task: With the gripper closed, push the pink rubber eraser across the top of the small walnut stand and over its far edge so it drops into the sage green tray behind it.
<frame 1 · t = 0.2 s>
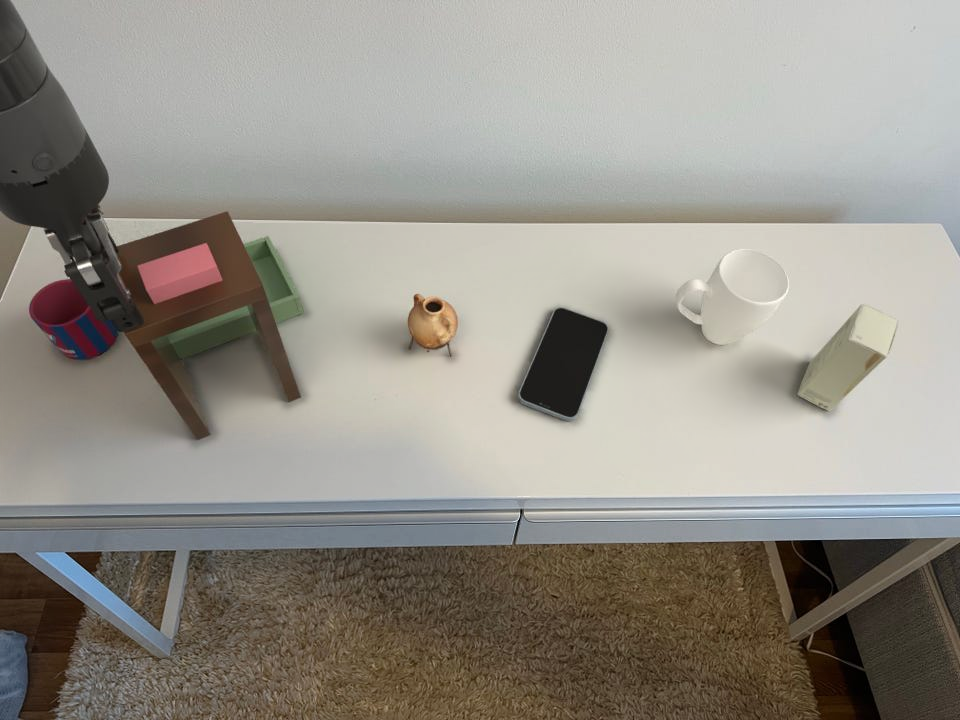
hand: (118, 289, 58), 21 cm above the table, tool pointing down, fingers open, 8 cm apart
walnut stand: (236, 384, 78), on the table
smartphone: (563, 364, 83), on the table
mug: (703, 332, 87), on the table
tray: (226, 305, 84), on the table
cup: (98, 327, 81), on the table
cosmetic box: (819, 386, 84), on the table
pot: (432, 343, 83), on the table
eraser: (184, 280, 60), point 21 cm above the table, touching walnut stand
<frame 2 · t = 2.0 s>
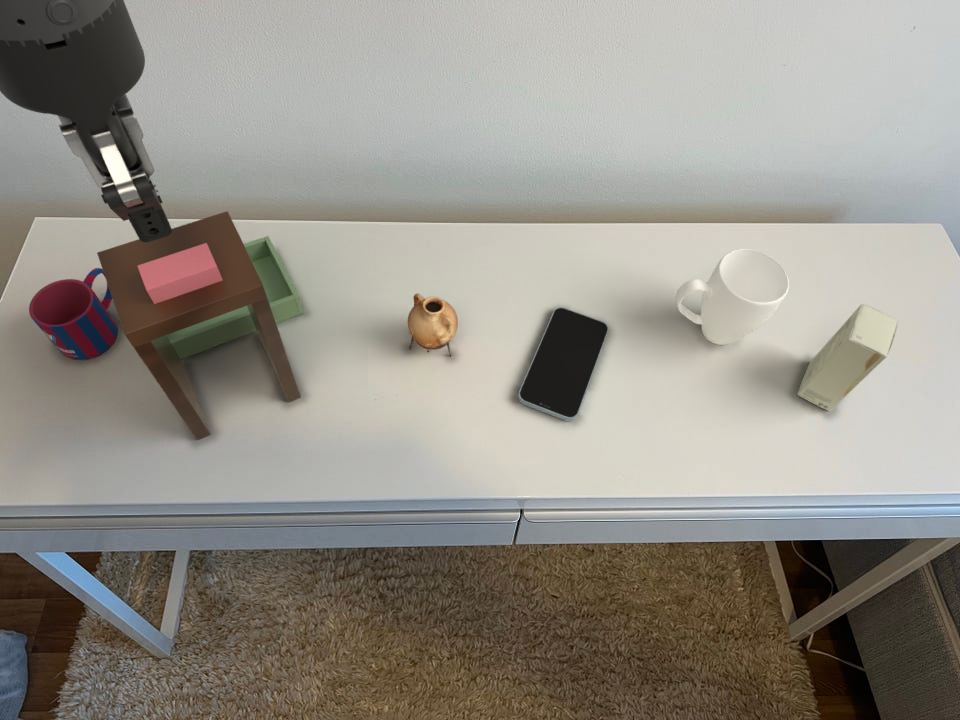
hand: (155, 232, 48), 33 cm above the table, tool pointing down, fingers closed
nothing on the table moved.
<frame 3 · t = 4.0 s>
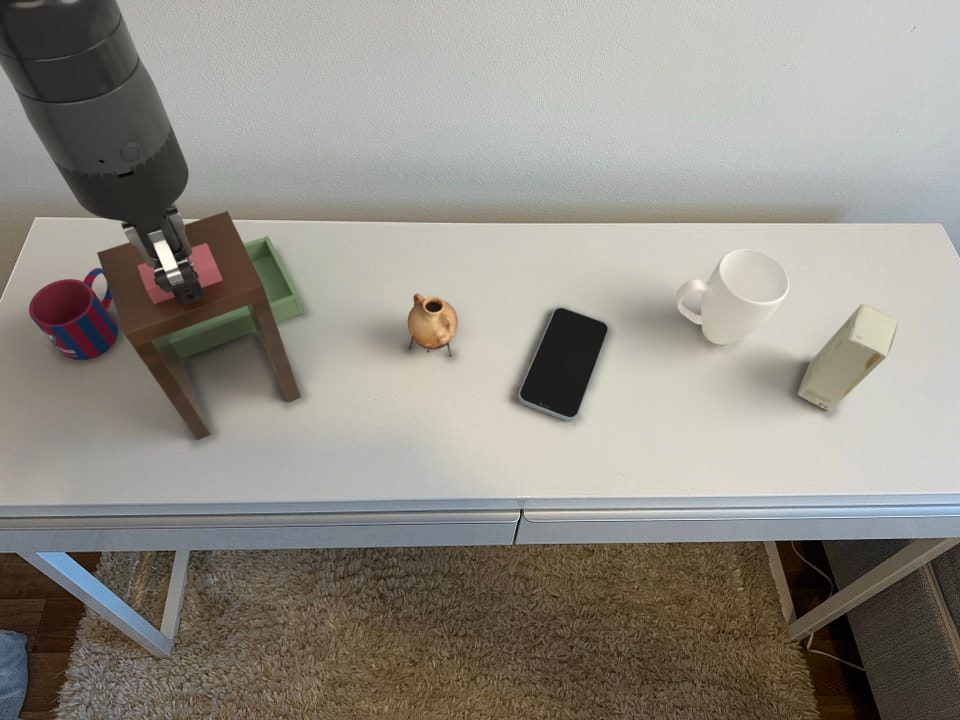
hand: (190, 296, 58), 22 cm above the table, tool pointing down, fingers closed
eraser: (184, 280, 60), point 21 cm above the table, touching gripper, walnut stand
everything else where it was.
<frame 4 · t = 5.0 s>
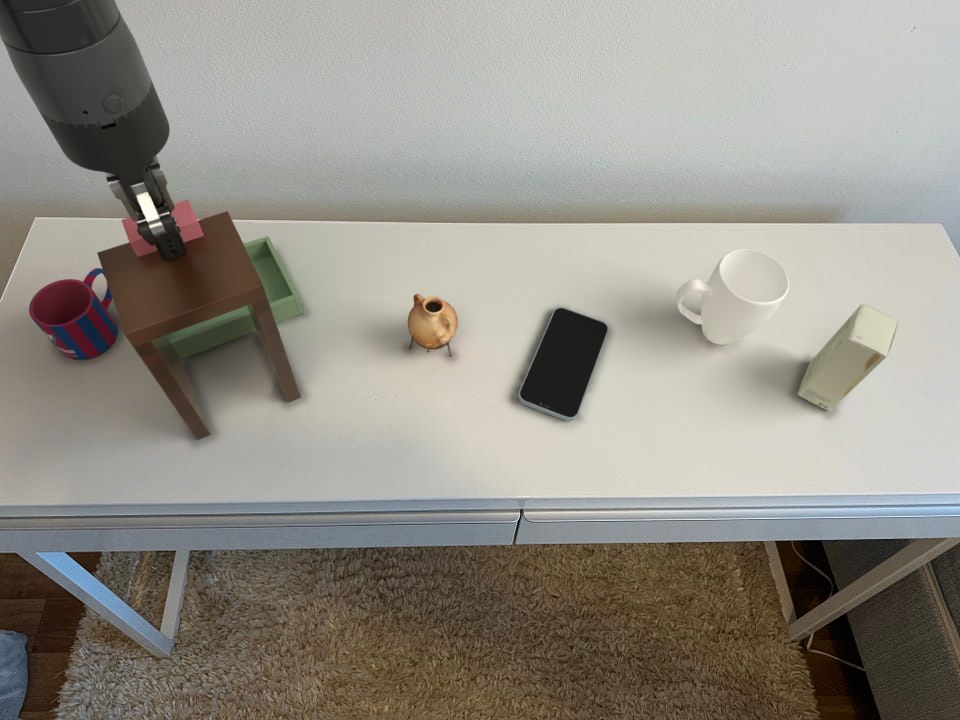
hand: (174, 252, 61), 22 cm above the table, tool pointing down, fingers closed
eraser: (166, 235, 62), point 21 cm above the table, touching gripper
everything else where it was.
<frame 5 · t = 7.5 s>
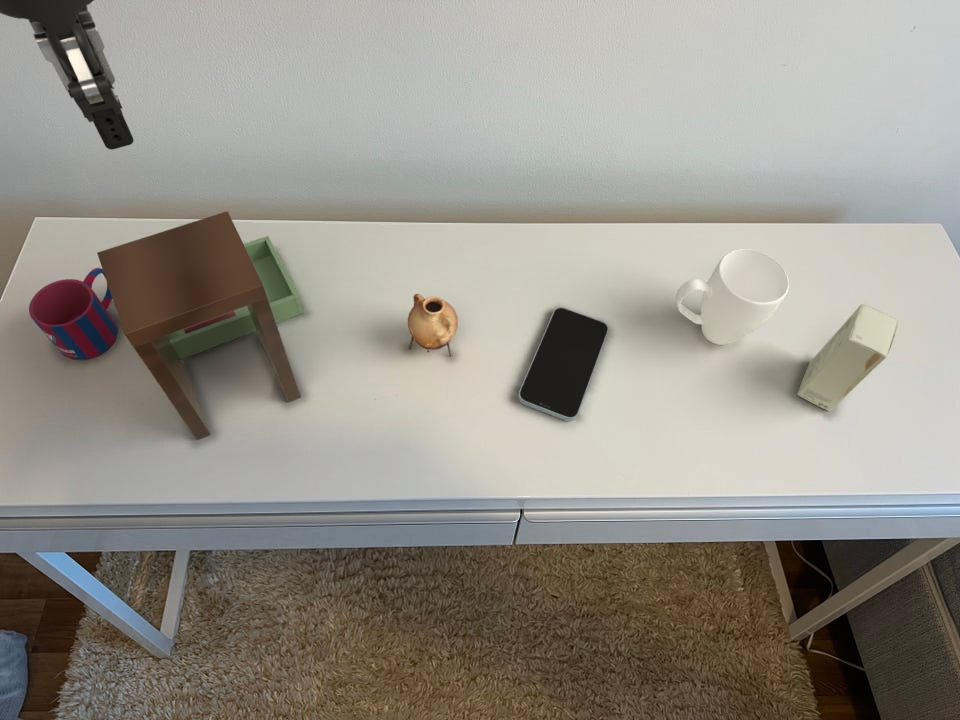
hand: (119, 141, 56), 30 cm above the table, tool pointing down, fingers closed
eraser: (207, 315, 81), point 2 cm above the table, tilted 90°, touching tray
everything else where it was.
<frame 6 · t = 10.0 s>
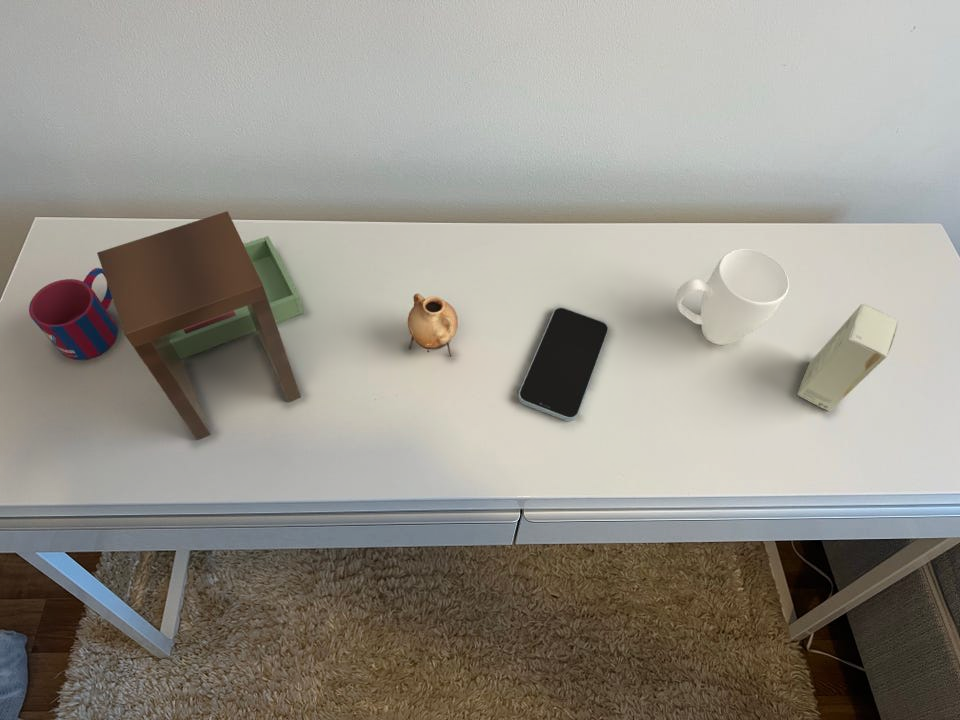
nothing on the table moved.
at the end: eraser inside the target area in the tray (3.2 cm from its centre), point 2.0 cm above the tray's base; eraser moved 21.9 cm from its start; the gripper is holding nothing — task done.
